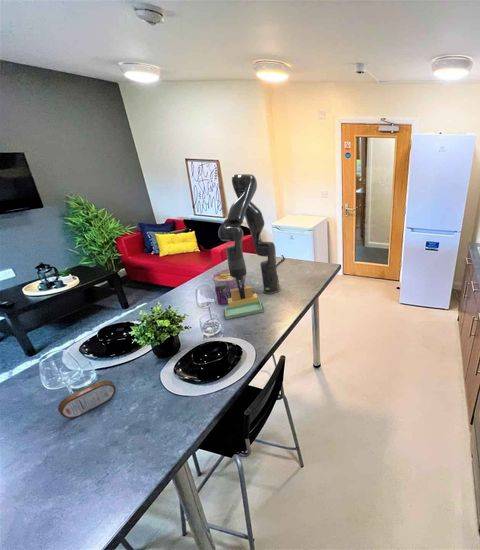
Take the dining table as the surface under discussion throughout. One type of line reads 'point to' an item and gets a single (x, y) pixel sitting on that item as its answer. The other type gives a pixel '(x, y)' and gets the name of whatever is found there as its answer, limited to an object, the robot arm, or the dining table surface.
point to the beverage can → (222, 292)
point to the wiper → (237, 300)
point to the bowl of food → (225, 278)
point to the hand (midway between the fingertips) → (242, 296)
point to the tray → (243, 310)
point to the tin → (86, 399)
